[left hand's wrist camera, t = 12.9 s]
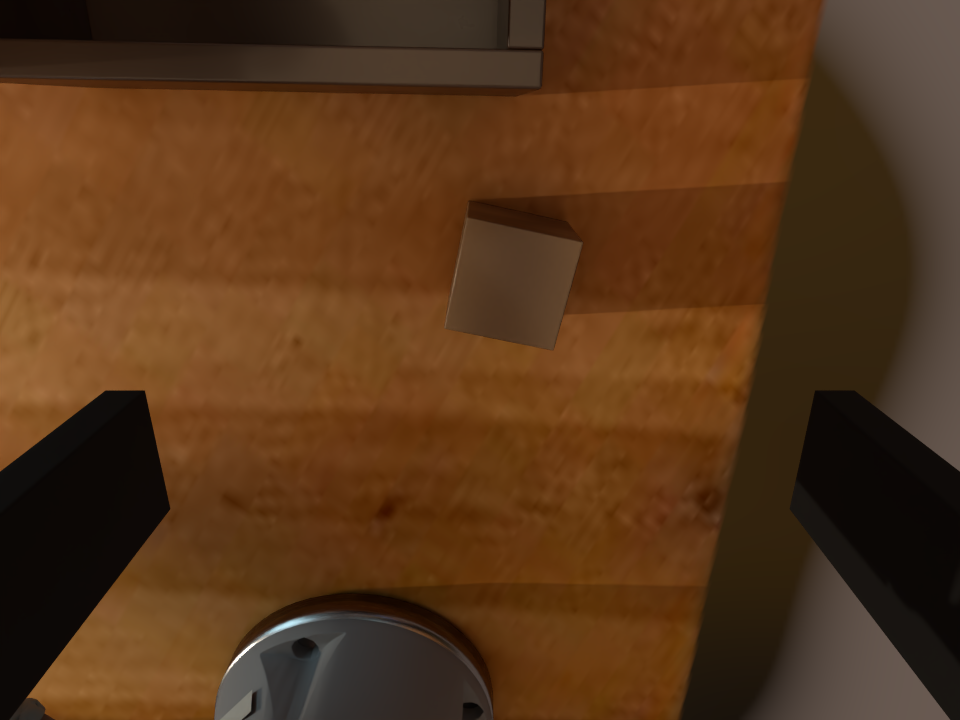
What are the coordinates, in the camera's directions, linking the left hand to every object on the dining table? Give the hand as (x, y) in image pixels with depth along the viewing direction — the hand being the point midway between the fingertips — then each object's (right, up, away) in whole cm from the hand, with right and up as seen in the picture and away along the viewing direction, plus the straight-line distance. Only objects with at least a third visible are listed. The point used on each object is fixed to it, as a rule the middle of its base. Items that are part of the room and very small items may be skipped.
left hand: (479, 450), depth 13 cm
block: (+1, +6, +15) cm, 16 cm away
